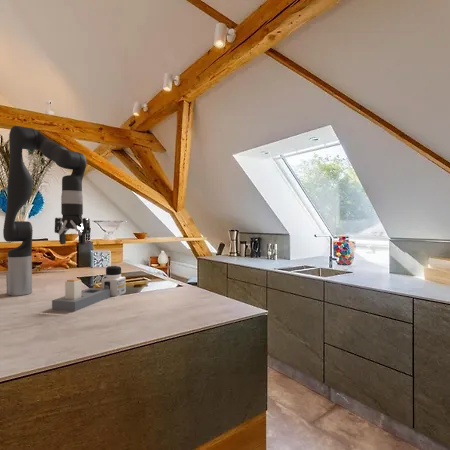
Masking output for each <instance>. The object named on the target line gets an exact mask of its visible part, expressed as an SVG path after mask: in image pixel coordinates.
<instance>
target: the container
mask: <svg viewBox="0 0 450 450" xmlns="http://www.w3.org/2000/svg"><path fill="white" fill-rule="evenodd" d="M126 280H127V279H126V276H122V266H120V265H109V266H107V267H106V268H105V278H102V279H101V281H100V282H101V288H100V289H110V297H118V296H120V295H121V296H122V295H123V294H125V293H126V292H127V291H126V285H127V284H126Z"/></svg>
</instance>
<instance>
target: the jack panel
mask: <svg viewBox="0 0 450 450" xmlns="http://www.w3.org/2000/svg"><path fill="white" fill-rule="evenodd" d="M109 298H111V296H110V289H101V288H99V287H97V288H96V287H95V288H94V287H89V288H86V289H85V288H84V289H83V290H82V289H81V298H78V299H75V300H73V299H65V295H64V296H60V297H59V298H54V299H52V300H51V310H52V311H64V312H77V311H81V310H83V309H85V308H87V307H90V306H92V305H94V304H97V303H99V302H102V301H104V300H107V299H109Z"/></svg>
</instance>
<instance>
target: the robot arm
mask: <svg viewBox="0 0 450 450" xmlns="http://www.w3.org/2000/svg"><path fill="white" fill-rule="evenodd" d="M8 144H9V145H8V146H9V147H8V148H9V149H8V152H9V165H8V168H9V169H8V177H7V191H6V192H7V195H6V210H5V216H4V223H3V229H2V231H3V233H2V235H3V236H2V237H3V239H4V241H5V242H8V243H9V242H10V243H11V242H12V243H13V242H14V243H15V242H17V243H18V242H21V244H20V245H18V246H17V247H14V248H12V249H10V250H8V251H7V273H6V274H5V275H6V276H5V277H6V278H5V279H6V295H8V296H11V297H12V296H13V297H14V296H15V297H16V296H25V295H29V294H32V293H33V260H32V258H33V257H32V253H33V252H32V250H33V225H32V223H31V222H30V221H27V220H23V221H22V220H21V221H19V220H18V221H17V220H16V218H17V215H18V213H19V212H20V210H21V209H22V208H23V207H24V205H26V203H27V202H28V201H29V200H30V198H31V197H32V194H33V184H34V180H33V176H32V175H31V173H30V171H29V170H28V168H27V166H26V165H25V162H24V158H23V150H29V151H39V152H41V154H42V155H43V156H44V157H45V158H46V159H49V160H50V161H52V162H54V163H55V165H57V167H59V168H61V169H67V170H72V172H71V174H69V175H67V174H66V175H63V176H62V179H61V198H60V200H61V204H60V205H61V207H60V209H61V212H60V214H61V215H62V217H55V218H54V233H55V234H58V236H59V238H58V240H59V244H60V245H65V244H66V242H67V240H66V239H67V237H66V236H67V235H66V233H67V231H69V230H75V231H77V233H78V234H79V235H78V245H79V246H84V245H85V244H86V235H88V234H91V223H90V221H91V220H90V218H89V217H83V213H84V210H83V209H84V206H83V205H84V198H83V179H84V176H85V172H86V169H87V164H88V162H87V161H88V160H87V157H86V156H85V155H84V153H82V152H79V151H74V150H73V151H72V150H68V149H67V148H66V147H65V146H63V145H61V144H59V143H57V142H54V141H53V140H51V139H49V138H48V137H47V136H45V135H44V134H43V133H41V131H39V130H37V129H35V128H33V127H32V128H31V127H27V126H26V127H24V126H19V125H14V126H12V127H11V129H10V131H9V137H8Z"/></svg>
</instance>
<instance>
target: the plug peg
mask: <svg viewBox="0 0 450 450" xmlns="http://www.w3.org/2000/svg"><path fill="white" fill-rule="evenodd" d="M64 289H65V290H64V291H65V292H64V293H65V295H64V296H65V299H73V300H75V299H78V298H81V291H82V280H81V278H68V279H66V281H65V282H64Z"/></svg>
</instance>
